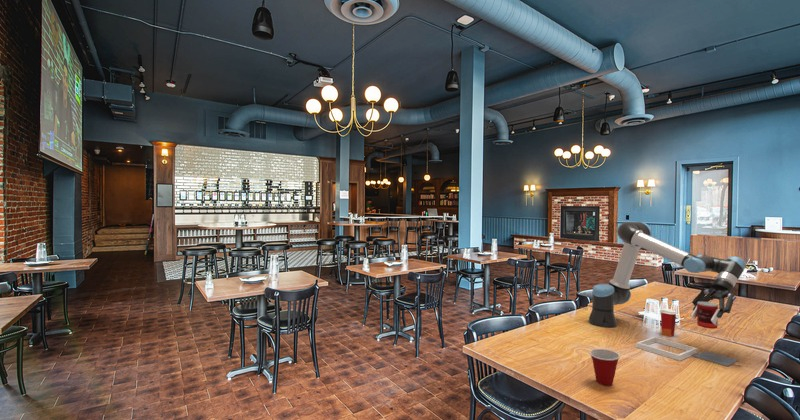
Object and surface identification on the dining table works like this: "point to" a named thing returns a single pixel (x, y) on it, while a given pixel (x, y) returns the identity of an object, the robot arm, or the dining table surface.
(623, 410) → the dining table surface
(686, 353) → the corral
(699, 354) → the mat
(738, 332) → the dining table surface
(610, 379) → the plastic cup
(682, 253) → the robot arm
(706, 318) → the canned food
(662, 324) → the paper cup
